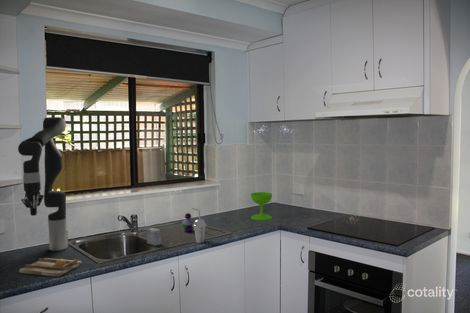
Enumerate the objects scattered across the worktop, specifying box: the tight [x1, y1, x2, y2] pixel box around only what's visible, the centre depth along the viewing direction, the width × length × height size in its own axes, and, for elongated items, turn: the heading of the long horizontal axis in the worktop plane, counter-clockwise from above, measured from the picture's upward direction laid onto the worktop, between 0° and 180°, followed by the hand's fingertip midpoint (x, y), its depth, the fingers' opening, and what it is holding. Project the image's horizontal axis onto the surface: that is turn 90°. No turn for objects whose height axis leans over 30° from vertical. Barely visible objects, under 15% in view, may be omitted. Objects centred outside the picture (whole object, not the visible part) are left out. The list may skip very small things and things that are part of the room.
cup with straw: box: [191, 207, 208, 244], centre depth 233 cm, size 8×9×20 cm
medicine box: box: [146, 227, 162, 246], centre depth 230 cm, size 8×4×9 cm, turn 48°
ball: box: [55, 258, 66, 268], centre depth 190 cm, size 5×5×5 cm
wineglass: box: [250, 191, 273, 221], centre depth 293 cm, size 16×16×18 cm
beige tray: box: [19, 257, 83, 277], centre depth 192 cm, size 17×22×4 cm
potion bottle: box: [181, 212, 195, 233], centre depth 256 cm, size 9×9×12 cm
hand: (33, 215), depth 197 cm, fingers closed
